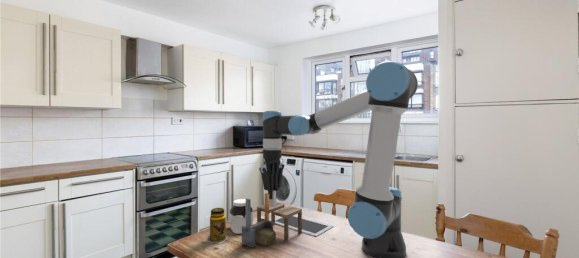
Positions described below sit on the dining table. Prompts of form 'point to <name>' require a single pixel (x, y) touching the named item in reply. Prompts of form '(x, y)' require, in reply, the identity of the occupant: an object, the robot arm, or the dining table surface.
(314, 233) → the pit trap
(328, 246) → the dining table surface
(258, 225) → the slider frame
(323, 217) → the dining table surface
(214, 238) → the condiment
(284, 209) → the brown wooden table
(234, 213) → the spread jar
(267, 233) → the stone block
